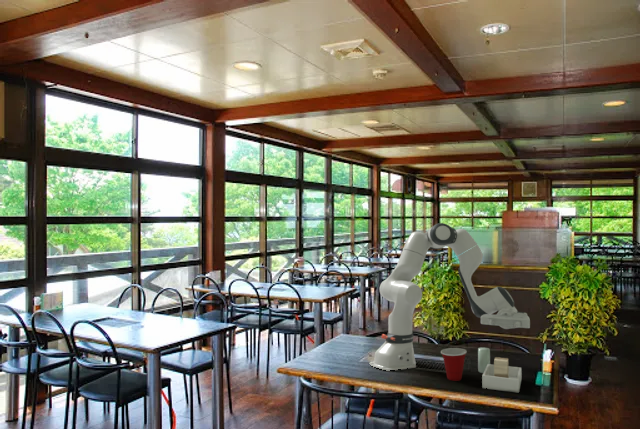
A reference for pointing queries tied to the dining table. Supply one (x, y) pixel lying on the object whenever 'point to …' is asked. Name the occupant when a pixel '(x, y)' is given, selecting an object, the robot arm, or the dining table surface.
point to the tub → (502, 379)
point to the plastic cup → (454, 362)
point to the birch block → (501, 367)
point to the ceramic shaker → (483, 359)
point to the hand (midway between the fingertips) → (503, 324)
